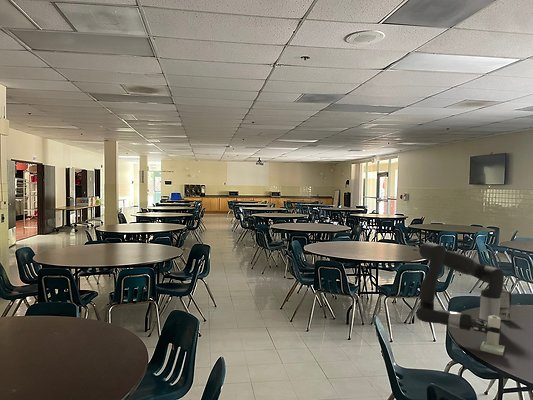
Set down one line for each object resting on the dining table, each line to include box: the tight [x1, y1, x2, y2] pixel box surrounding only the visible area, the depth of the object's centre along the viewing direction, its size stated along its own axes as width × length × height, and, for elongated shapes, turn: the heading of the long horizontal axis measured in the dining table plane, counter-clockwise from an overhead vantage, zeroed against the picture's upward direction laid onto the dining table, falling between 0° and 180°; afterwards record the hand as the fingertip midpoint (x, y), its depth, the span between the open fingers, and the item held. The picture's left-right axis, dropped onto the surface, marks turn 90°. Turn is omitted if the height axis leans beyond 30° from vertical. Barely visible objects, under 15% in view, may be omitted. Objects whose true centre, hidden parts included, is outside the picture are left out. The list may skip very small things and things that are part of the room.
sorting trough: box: [479, 341, 506, 356], centre depth 186 cm, size 9×9×2 cm
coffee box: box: [499, 288, 513, 321], centre depth 234 cm, size 9×6×16 cm
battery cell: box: [485, 315, 502, 345], centre depth 186 cm, size 5×5×13 cm
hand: (500, 329), depth 184 cm, fingers closed on battery cell, 5 cm apart
